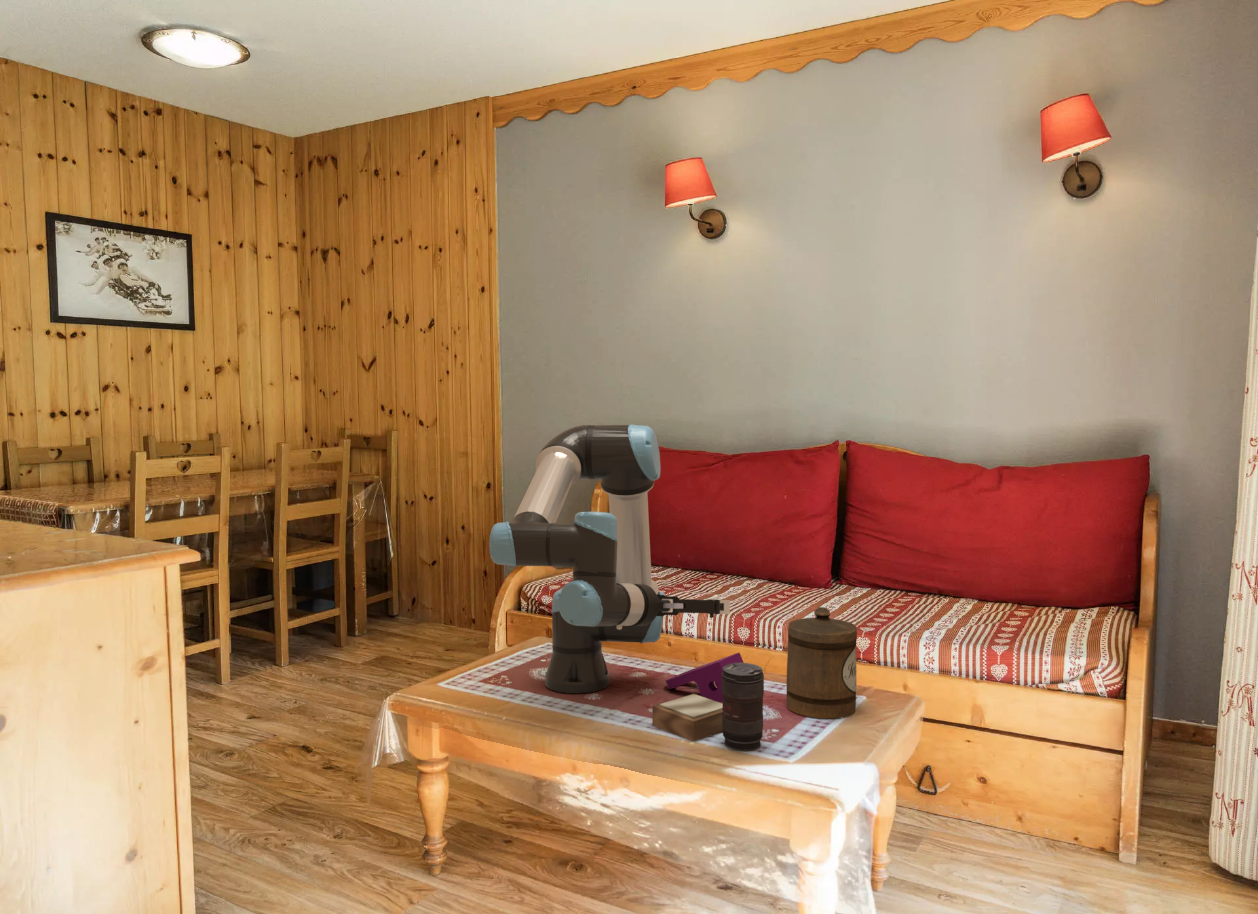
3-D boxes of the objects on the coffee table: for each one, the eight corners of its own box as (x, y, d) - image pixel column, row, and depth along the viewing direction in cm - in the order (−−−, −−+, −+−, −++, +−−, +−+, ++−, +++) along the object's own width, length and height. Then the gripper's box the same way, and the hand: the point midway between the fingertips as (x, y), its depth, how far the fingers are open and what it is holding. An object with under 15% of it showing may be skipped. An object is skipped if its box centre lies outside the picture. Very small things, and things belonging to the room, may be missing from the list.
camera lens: (714, 747, 169) (714, 670, 168) (732, 734, 175) (732, 660, 175) (753, 755, 164) (753, 676, 164) (770, 741, 171) (770, 666, 170)
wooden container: (865, 718, 184) (866, 615, 183) (795, 720, 183) (796, 616, 182) (844, 696, 199) (845, 599, 198) (779, 697, 198) (780, 600, 197)
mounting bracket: (671, 719, 201) (733, 698, 191) (657, 683, 203) (718, 661, 193) (692, 707, 209) (753, 687, 199) (679, 673, 211) (739, 652, 201)
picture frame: (652, 725, 180) (652, 704, 180) (693, 712, 188) (693, 691, 188) (693, 741, 171) (693, 719, 171) (735, 727, 179) (735, 705, 179)
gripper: (579, 623, 165) (649, 623, 181) (686, 628, 149) (753, 628, 165) (580, 583, 166) (650, 586, 182) (686, 584, 150) (753, 587, 166)
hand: (699, 606), depth 174 cm, fingers open, 13 cm apart
